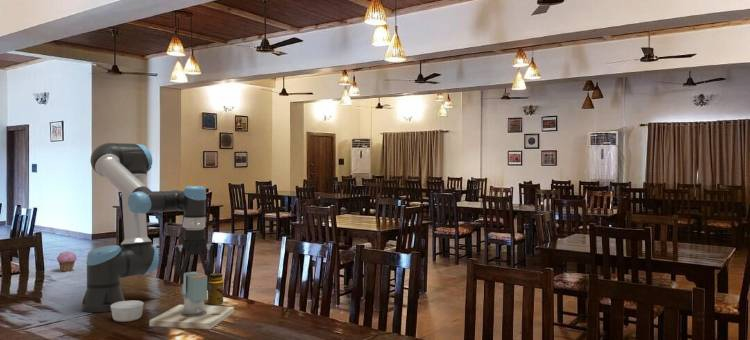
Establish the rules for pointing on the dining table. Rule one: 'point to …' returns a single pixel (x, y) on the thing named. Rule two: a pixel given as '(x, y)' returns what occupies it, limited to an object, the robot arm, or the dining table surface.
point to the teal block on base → (194, 293)
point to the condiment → (215, 290)
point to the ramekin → (127, 310)
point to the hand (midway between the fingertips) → (193, 292)
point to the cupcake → (66, 261)
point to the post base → (192, 317)
